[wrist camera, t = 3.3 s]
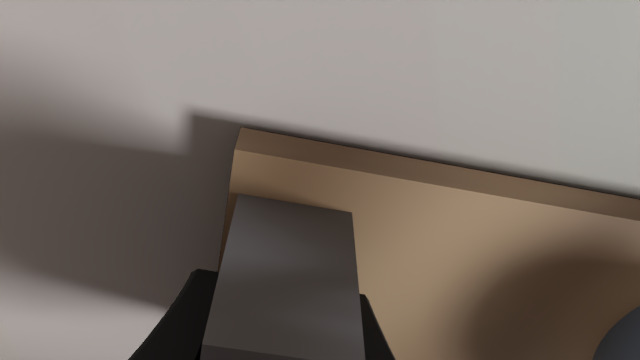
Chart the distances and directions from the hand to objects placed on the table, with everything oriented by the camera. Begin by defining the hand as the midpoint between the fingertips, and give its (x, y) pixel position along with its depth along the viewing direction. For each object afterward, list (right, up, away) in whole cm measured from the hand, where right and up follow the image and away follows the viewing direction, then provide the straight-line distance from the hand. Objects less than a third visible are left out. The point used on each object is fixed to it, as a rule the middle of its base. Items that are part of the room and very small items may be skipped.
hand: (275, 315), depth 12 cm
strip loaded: (+6, 0, +2) cm, 7 cm away
